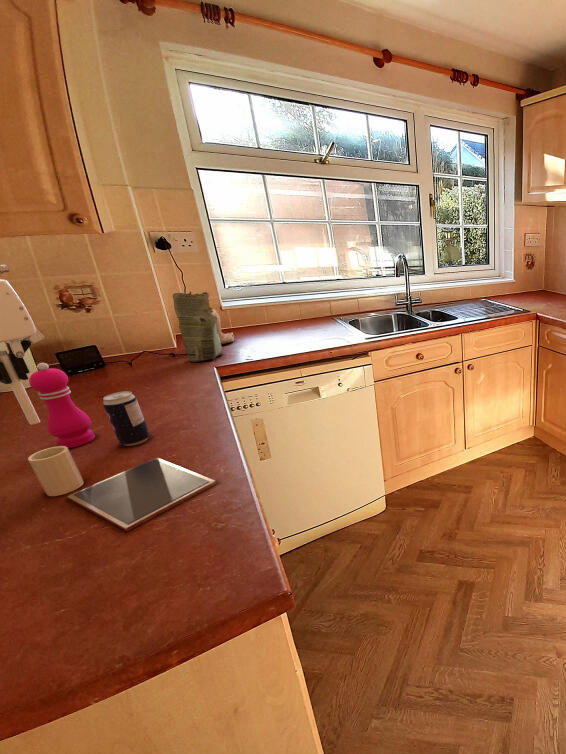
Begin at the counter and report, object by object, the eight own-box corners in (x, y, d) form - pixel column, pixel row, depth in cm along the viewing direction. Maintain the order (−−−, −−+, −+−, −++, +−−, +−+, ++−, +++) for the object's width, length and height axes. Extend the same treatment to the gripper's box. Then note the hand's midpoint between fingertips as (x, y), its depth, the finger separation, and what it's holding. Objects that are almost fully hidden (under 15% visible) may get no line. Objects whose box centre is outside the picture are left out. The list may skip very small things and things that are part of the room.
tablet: (126, 532, 72) (124, 527, 71) (68, 499, 80) (66, 495, 80) (216, 483, 84) (215, 480, 84) (158, 460, 93) (156, 456, 92)
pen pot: (53, 499, 80) (35, 463, 77) (41, 492, 82) (22, 456, 79) (89, 483, 85) (72, 449, 82) (76, 477, 87) (60, 443, 84)
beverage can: (143, 433, 104) (126, 389, 100) (156, 438, 102) (138, 392, 97) (115, 444, 99) (95, 398, 95) (128, 449, 97) (108, 402, 92)
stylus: (31, 425, 77) (-5, 352, 72) (28, 423, 78) (-9, 351, 72) (42, 422, 78) (7, 350, 73) (38, 420, 79) (4, 349, 74)
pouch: (188, 357, 160) (166, 291, 150) (225, 351, 167) (206, 287, 157) (190, 365, 152) (167, 295, 142) (228, 358, 159) (209, 291, 149)
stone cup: (197, 352, 166) (185, 314, 161) (192, 346, 175) (180, 310, 169) (240, 344, 176) (230, 308, 170) (233, 338, 184) (224, 304, 178)
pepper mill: (52, 444, 100) (14, 364, 93) (93, 431, 106) (59, 355, 98) (60, 452, 96) (20, 370, 89) (101, 439, 102) (67, 361, 94)
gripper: (20, 268, 76) (62, 364, 83) (-126, 280, 63) (-62, 393, 70) (39, 270, 73) (81, 369, 80) (-111, 283, 60) (-45, 400, 67)
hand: (14, 380), depth 75 cm, fingers closed on stylus, 1 cm apart
